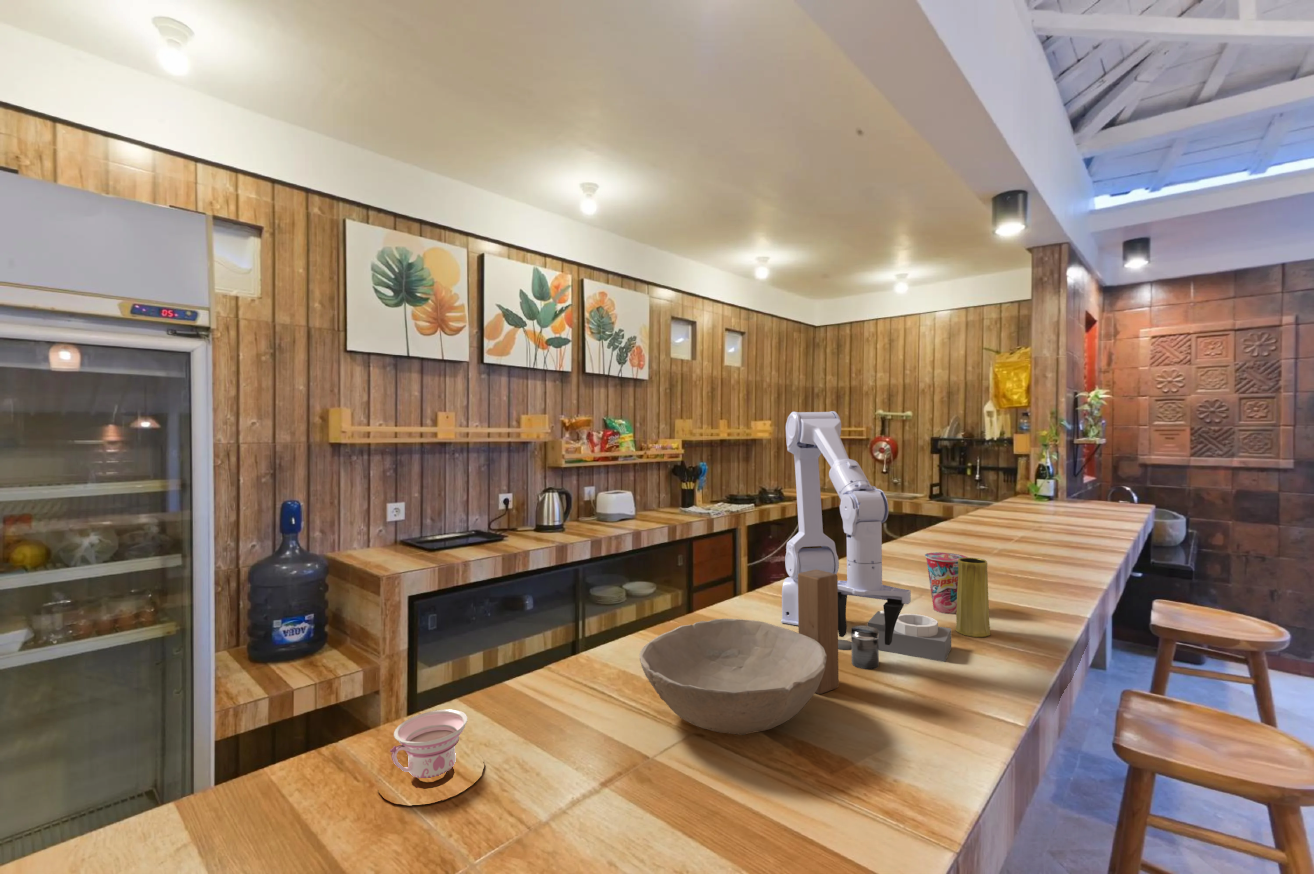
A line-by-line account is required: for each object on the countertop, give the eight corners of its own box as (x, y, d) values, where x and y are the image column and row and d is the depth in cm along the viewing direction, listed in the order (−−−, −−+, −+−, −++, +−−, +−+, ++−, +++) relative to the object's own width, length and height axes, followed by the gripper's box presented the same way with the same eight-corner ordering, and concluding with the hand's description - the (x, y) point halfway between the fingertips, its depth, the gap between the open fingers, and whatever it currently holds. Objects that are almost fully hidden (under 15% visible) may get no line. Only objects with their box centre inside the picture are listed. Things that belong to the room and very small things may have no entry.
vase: (982, 627, 121) (981, 556, 121) (996, 638, 115) (995, 563, 115) (950, 626, 122) (950, 556, 122) (963, 637, 116) (962, 563, 116)
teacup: (450, 740, 80) (449, 694, 80) (505, 771, 73) (504, 721, 73) (358, 782, 71) (357, 730, 71) (410, 823, 64) (409, 765, 63)
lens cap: (825, 648, 112) (825, 645, 112) (832, 640, 116) (832, 637, 116) (851, 653, 109) (851, 650, 109) (858, 645, 113) (858, 642, 113)
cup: (928, 614, 130) (927, 559, 130) (922, 603, 138) (922, 551, 138) (976, 617, 127) (975, 561, 127) (967, 606, 135) (967, 553, 135)
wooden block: (777, 675, 99) (776, 567, 99) (796, 669, 102) (795, 563, 102) (820, 695, 92) (818, 578, 92) (839, 688, 94) (838, 573, 94)
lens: (848, 666, 103) (847, 630, 103) (855, 657, 107) (855, 622, 107) (875, 671, 100) (875, 634, 100) (881, 662, 104) (881, 627, 104)
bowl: (671, 787, 69) (670, 700, 69) (623, 690, 95) (621, 627, 94) (870, 751, 76) (869, 672, 76) (775, 670, 102) (774, 611, 101)
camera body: (867, 647, 111) (867, 619, 111) (878, 634, 118) (877, 608, 118) (945, 661, 104) (944, 631, 104) (951, 647, 111) (951, 618, 111)
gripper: (815, 560, 104) (816, 638, 104) (904, 569, 96) (905, 654, 96) (827, 552, 110) (828, 627, 110) (912, 561, 102) (913, 641, 102)
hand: (865, 639), depth 103 cm, fingers open, 7 cm apart
